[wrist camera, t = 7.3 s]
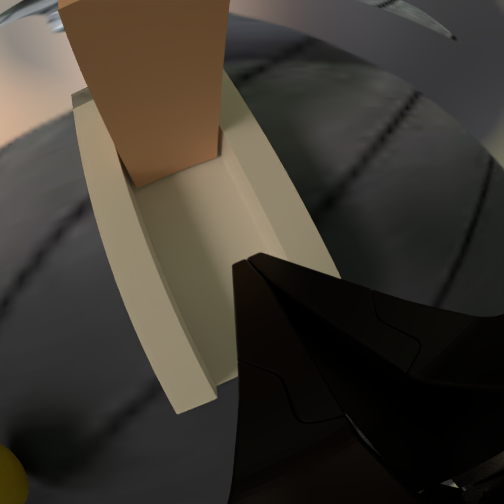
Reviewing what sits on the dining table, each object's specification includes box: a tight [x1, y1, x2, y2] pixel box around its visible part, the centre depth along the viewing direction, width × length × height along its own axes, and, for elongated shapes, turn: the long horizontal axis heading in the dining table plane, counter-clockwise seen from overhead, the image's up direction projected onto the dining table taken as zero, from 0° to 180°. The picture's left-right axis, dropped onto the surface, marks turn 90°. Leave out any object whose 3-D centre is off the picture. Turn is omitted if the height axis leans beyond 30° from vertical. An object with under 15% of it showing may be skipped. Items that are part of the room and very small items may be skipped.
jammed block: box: [58, 0, 230, 189], centre depth 11 cm, size 5×5×12 cm
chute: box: [71, 69, 341, 414], centre depth 15 cm, size 19×10×4 cm, turn 25°
